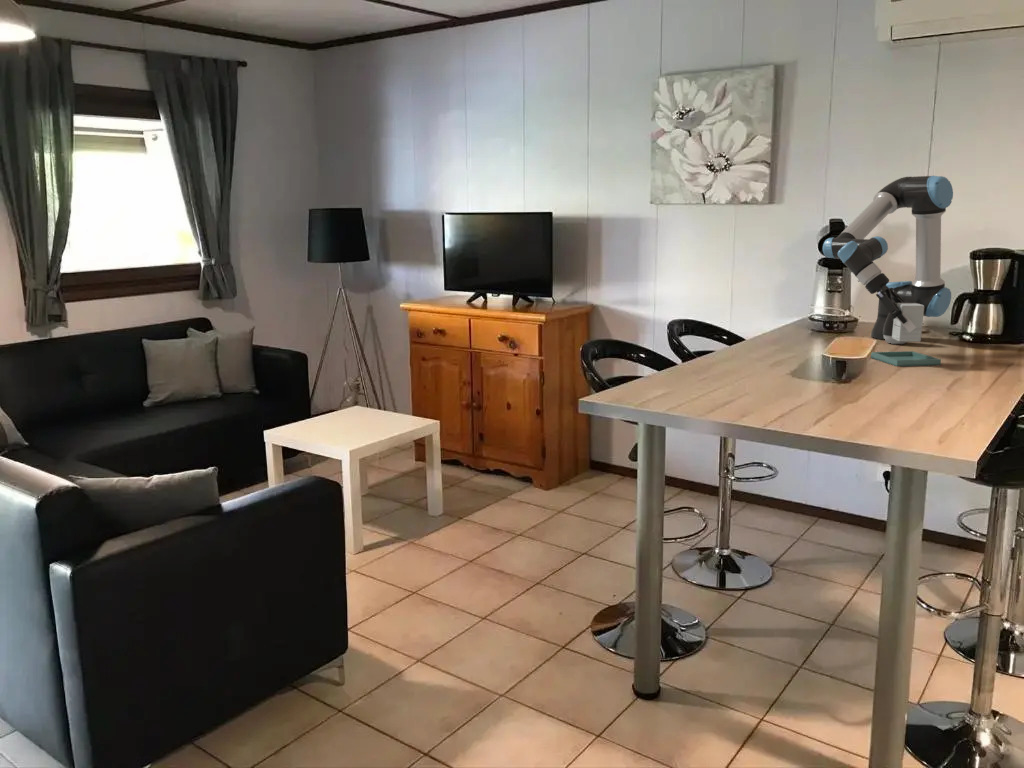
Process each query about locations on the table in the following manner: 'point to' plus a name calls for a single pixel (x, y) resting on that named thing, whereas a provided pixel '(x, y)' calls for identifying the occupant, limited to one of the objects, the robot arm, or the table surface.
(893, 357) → the tray
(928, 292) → the robot arm
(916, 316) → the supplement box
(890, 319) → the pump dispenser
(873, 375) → the table surface
